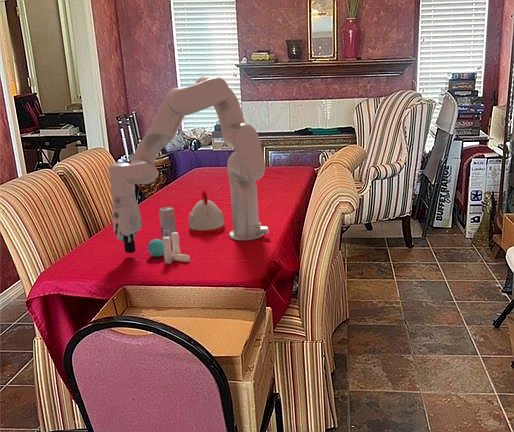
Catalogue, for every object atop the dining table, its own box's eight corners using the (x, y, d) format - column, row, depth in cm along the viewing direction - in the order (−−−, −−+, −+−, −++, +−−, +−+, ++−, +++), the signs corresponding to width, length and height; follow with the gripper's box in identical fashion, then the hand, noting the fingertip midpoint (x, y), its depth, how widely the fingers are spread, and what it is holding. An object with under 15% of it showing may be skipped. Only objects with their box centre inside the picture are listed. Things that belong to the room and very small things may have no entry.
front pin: (168, 257, 188) (190, 260, 184) (164, 260, 186) (186, 263, 182) (167, 251, 187) (189, 253, 184) (163, 254, 185) (185, 256, 182)
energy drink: (169, 236, 210) (166, 205, 207) (179, 238, 207) (176, 207, 204) (159, 240, 206) (155, 209, 203) (168, 242, 203) (165, 211, 200)
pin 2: (181, 256, 189) (179, 232, 186) (178, 258, 186) (175, 234, 184) (175, 255, 190) (173, 231, 187) (172, 258, 187) (169, 234, 185)
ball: (160, 235, 192) (150, 248, 193) (151, 235, 187) (141, 248, 188) (172, 247, 191) (161, 260, 192) (163, 247, 185) (152, 260, 186)
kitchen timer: (192, 236, 210) (188, 197, 206) (186, 226, 223) (183, 189, 218) (228, 231, 213) (225, 193, 209) (220, 222, 226) (218, 186, 222)
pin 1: (173, 261, 184) (171, 237, 182) (170, 264, 182) (167, 239, 180) (167, 260, 185) (165, 236, 183) (163, 263, 183) (161, 238, 181)
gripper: (119, 206, 177) (125, 260, 183) (146, 195, 190) (152, 246, 196) (100, 205, 181) (107, 258, 186) (128, 194, 194) (134, 244, 199)
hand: (130, 251), depth 191 cm, fingers closed
